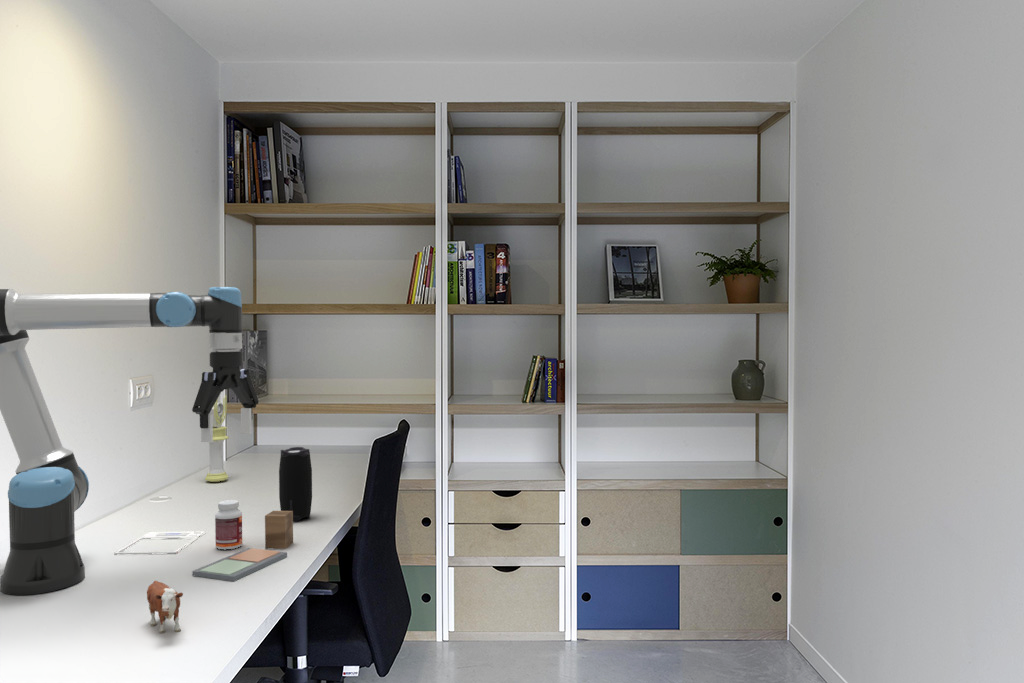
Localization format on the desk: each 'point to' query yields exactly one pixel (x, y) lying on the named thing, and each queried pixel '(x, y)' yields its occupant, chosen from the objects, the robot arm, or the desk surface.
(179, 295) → the robot arm
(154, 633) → the desk surface
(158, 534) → the photo frame
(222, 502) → the pill bottle
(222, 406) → the trophy
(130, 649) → the desk surface
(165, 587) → the bull figurine
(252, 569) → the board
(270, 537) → the walnut block
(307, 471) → the portable speaker
